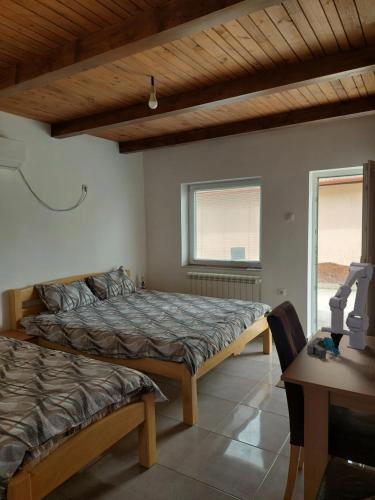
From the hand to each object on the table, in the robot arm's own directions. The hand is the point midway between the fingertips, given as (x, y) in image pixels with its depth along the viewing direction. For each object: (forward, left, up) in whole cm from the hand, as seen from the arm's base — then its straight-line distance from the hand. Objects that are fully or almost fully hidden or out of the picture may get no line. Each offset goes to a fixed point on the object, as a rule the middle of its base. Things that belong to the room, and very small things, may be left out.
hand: (336, 348), depth 175 cm
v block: (0, -7, -3) cm, 8 cm away
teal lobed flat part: (0, -2, -3) cm, 4 cm away
